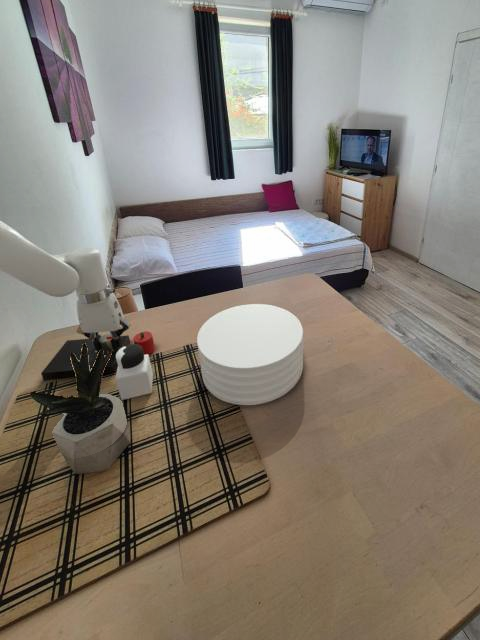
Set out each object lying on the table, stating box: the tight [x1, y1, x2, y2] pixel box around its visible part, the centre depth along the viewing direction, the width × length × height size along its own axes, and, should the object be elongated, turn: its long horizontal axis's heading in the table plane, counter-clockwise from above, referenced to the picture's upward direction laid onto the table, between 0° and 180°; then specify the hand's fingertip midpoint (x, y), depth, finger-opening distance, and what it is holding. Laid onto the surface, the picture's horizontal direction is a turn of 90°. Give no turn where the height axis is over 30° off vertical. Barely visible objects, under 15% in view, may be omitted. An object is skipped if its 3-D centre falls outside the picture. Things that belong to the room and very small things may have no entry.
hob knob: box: [99, 333, 116, 355], centre depth 93 cm, size 4×4×5 cm
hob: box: [40, 334, 131, 381], centre depth 94 cm, size 19×14×3 cm
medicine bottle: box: [115, 343, 154, 401], centre depth 82 cm, size 7×7×12 cm
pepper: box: [132, 331, 156, 355], centre depth 97 cm, size 5×5×7 cm
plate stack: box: [196, 303, 304, 406], centre depth 89 cm, size 28×28×12 cm
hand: (109, 348), depth 94 cm, fingers closed on hob knob, 4 cm apart
